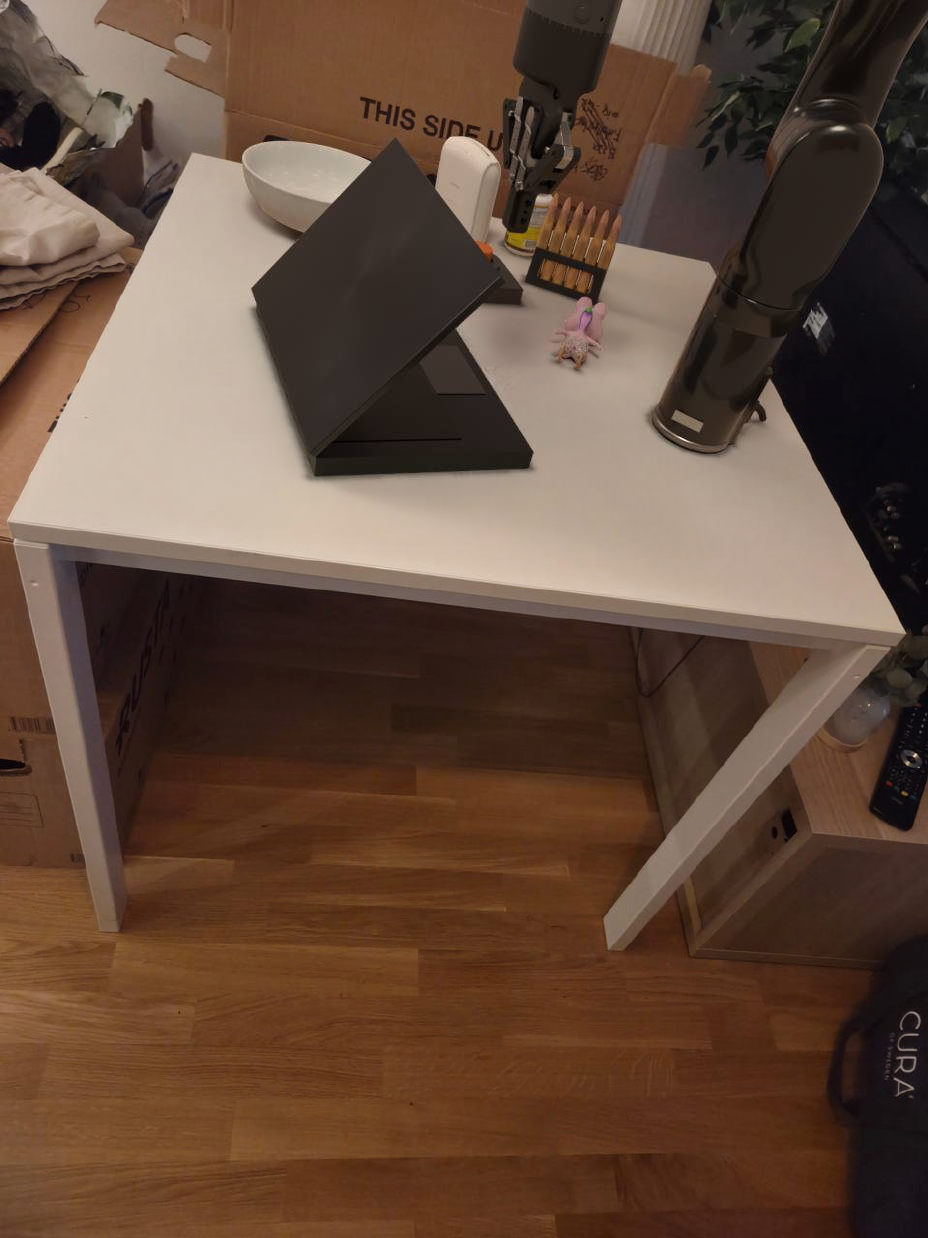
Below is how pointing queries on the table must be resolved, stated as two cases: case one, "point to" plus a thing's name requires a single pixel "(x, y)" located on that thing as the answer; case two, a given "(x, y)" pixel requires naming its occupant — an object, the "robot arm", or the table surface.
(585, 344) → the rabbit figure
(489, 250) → the power button
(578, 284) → the ammunition clip
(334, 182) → the serving bowl
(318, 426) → the laptop screen
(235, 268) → the table surface
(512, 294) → the switch box
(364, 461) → the laptop
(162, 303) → the table surface
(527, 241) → the supplement bottle
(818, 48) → the robot arm
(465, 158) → the photo printer
